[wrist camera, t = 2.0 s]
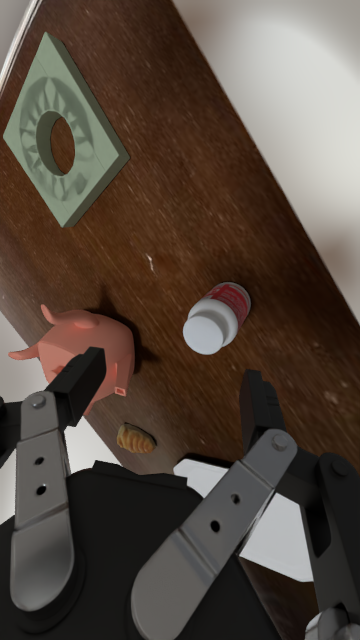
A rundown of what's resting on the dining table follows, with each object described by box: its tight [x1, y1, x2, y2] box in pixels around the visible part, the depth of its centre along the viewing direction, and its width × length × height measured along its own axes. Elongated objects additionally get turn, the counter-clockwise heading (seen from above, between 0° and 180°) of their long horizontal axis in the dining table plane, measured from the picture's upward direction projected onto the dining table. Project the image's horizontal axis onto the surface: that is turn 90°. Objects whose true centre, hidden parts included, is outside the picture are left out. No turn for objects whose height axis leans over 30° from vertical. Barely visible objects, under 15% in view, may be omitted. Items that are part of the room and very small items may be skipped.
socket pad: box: [3, 32, 130, 227], centre depth 36 cm, size 16×16×2 cm
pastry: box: [117, 424, 155, 453], centre depth 58 cm, size 9×7×4 cm
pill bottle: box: [183, 282, 251, 354], centre depth 31 cm, size 6×6×11 cm
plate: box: [173, 458, 314, 582], centre depth 52 cm, size 29×29×2 cm
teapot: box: [8, 305, 135, 415], centre depth 45 cm, size 18×18×14 cm
